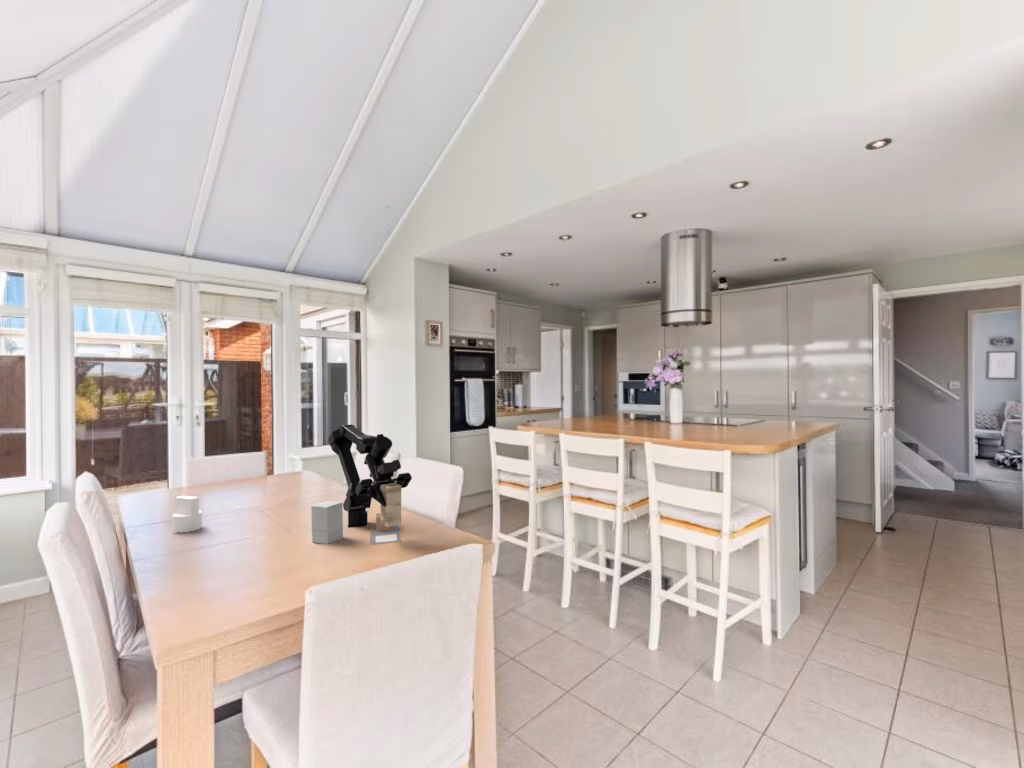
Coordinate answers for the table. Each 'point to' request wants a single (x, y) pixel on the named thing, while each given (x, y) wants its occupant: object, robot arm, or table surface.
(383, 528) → the terracotta block
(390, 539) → the mat
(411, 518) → the table surface
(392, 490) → the beech post
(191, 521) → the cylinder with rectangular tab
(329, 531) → the supplement box
